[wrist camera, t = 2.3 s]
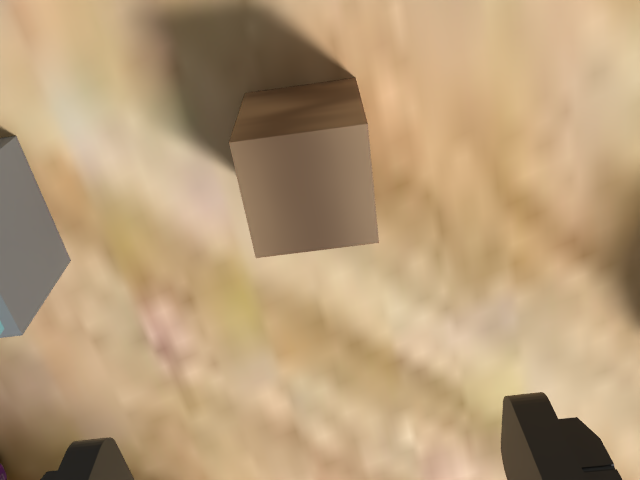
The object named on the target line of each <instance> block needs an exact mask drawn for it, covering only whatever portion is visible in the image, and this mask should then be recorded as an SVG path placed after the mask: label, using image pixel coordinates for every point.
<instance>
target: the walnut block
mask: <svg viewBox="0 0 640 480" xmlns="http://www.w3.org/2000/svg"><path fill="white" fill-rule="evenodd" d="M229 145H230V149H231V154H232V158H233V162H234V166H235V171H236V175H237V179H238V183H239V188H240V192H241V196H242V201H243V205H244V209H245V213H246V218H247V222H248V226H249V231H250V235H251V239H252V243H253V248H254V252H255V256H256V258H260V257H268V256H276V255H284V254H292V253H300V252H308V251H316V250H324V249H332V248H341V247H349V246H357V245H365V244H373V243H379V238H378V228H377V217H376V206H375V196H374V185H373V175H372V164H371V154H370V143H369V132H368V123H367V119H366V116H365V112H364V108H363V104H362V100H361V97H360V93H359V89H358V85H357V81H356V78H349V79H342V80H335V81H328V82H321V83H314V84H307V85H300V86H293V87H286V88H279V89H271V90H264V91H257V92H250V93H245V95H244V98H243V101H242V104H241V107H240V110H239V113H238V116H237V119H236V122H235V125H234V129H233V132H232V135H231V138H230V141H229Z"/></svg>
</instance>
